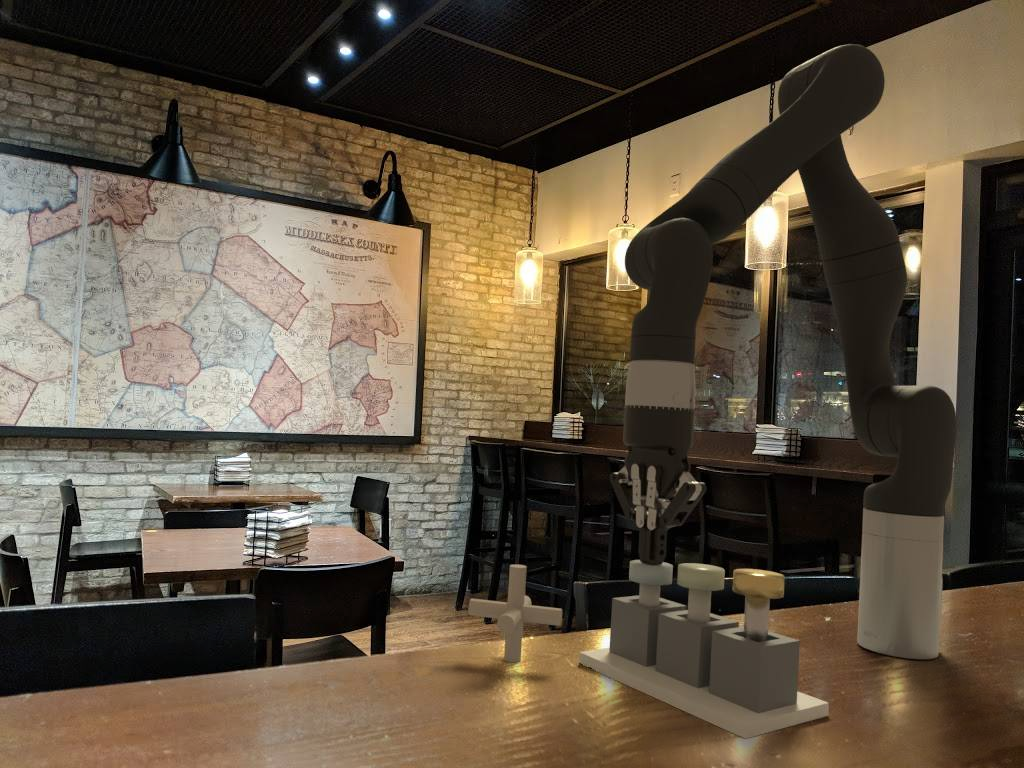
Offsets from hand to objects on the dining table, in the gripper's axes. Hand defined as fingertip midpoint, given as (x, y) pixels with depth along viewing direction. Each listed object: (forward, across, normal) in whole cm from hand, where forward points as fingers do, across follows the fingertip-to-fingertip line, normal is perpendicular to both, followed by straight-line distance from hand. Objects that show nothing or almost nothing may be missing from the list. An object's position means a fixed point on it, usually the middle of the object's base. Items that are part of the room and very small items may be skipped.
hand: (651, 563), depth 86 cm
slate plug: (+8, 0, 0) cm, 8 cm away
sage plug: (+7, -7, 0) cm, 10 cm away
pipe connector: (+11, +8, +12) cm, 18 cm away
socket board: (+11, -7, 0) cm, 13 cm away
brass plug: (+7, -14, 0) cm, 16 cm away
